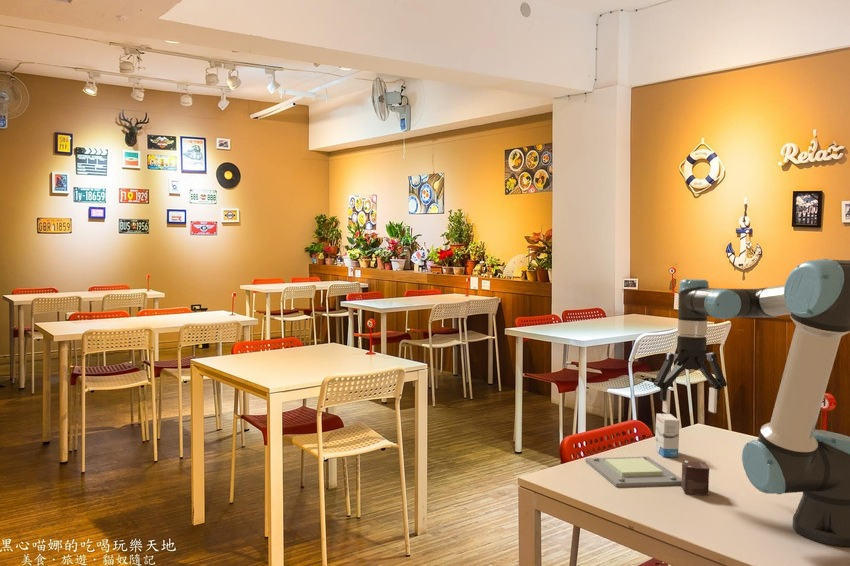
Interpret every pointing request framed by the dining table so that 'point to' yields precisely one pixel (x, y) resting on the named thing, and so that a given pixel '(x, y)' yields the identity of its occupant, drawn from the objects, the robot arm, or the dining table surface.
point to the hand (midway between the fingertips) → (689, 412)
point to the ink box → (667, 435)
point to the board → (633, 471)
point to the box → (695, 478)
